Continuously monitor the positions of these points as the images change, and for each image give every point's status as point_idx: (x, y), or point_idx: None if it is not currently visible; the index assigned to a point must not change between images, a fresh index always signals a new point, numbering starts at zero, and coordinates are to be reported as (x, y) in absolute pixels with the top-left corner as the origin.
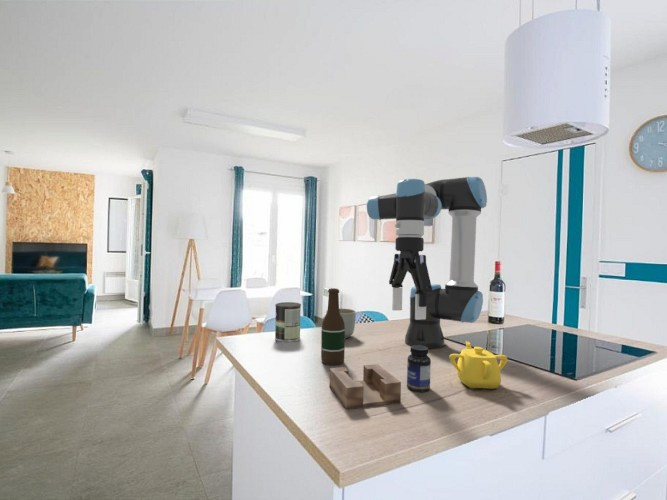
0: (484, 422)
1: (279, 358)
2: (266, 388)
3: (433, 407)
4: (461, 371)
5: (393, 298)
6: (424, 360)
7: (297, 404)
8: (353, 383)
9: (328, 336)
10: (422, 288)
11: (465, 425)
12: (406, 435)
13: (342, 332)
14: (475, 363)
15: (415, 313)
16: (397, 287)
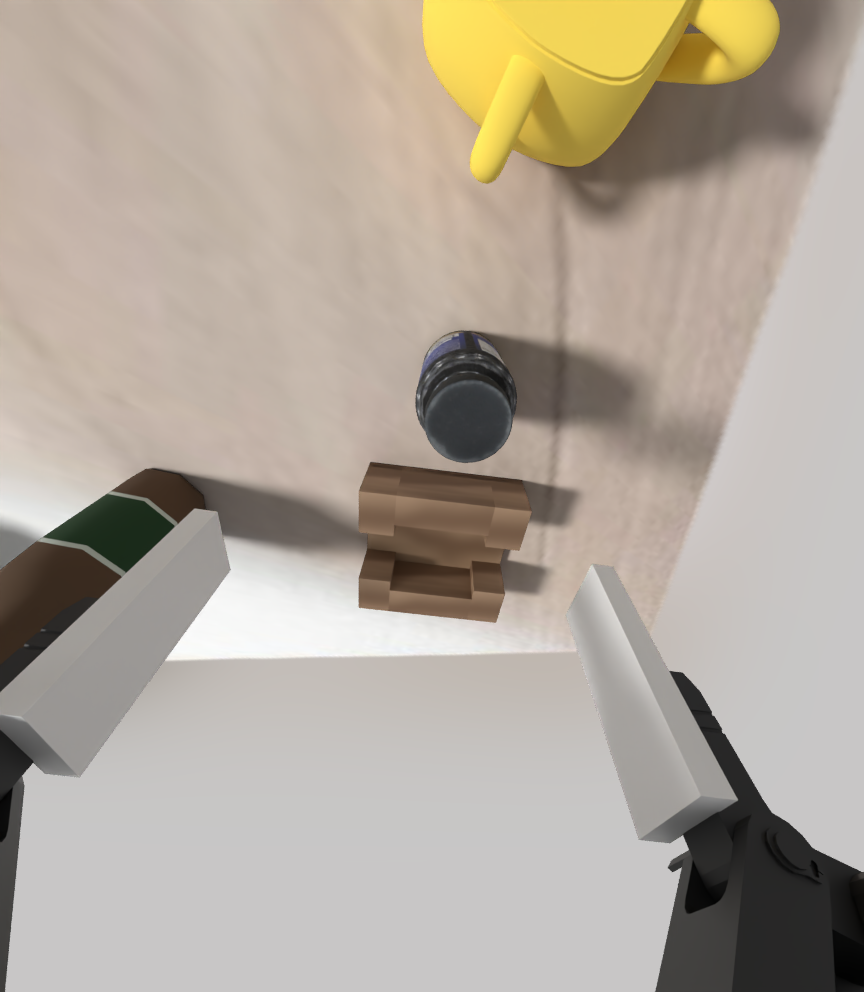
0: (751, 350)
1: None
2: (342, 654)
3: (593, 420)
4: (534, 146)
5: (163, 652)
6: (512, 413)
7: (432, 637)
8: (479, 604)
9: None
10: (837, 969)
11: (716, 414)
12: (644, 547)
13: (109, 554)
14: (647, 82)
15: (583, 650)
16: (9, 747)
